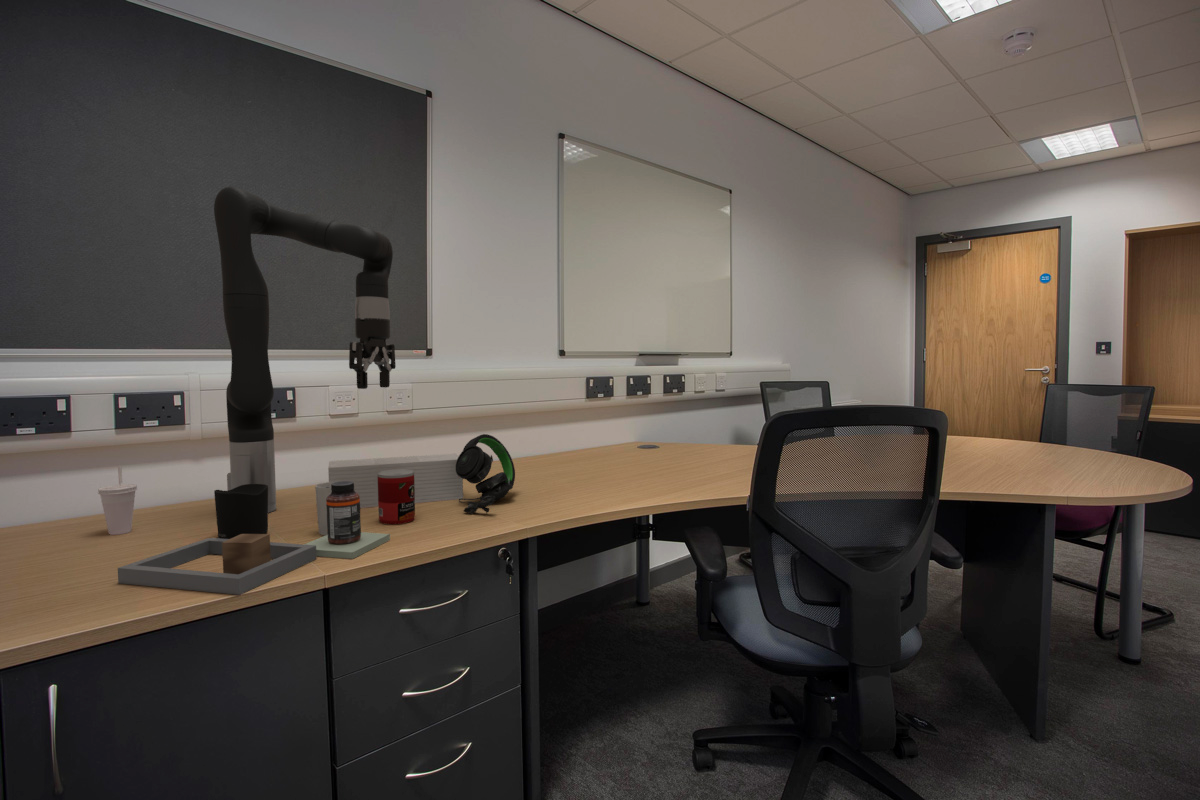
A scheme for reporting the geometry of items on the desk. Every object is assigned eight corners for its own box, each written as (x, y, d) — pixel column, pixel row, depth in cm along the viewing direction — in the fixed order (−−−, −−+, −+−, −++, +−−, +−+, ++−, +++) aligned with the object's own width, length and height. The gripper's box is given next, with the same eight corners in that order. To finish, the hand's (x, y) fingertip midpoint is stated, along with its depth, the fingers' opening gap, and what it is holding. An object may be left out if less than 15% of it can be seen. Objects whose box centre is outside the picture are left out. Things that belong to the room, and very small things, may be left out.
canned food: (404, 525, 130) (403, 475, 129) (371, 523, 131) (370, 474, 131) (421, 517, 137) (420, 469, 137) (390, 515, 139) (389, 468, 138)
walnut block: (223, 578, 98) (222, 542, 98) (242, 567, 103) (241, 533, 103) (253, 578, 98) (251, 542, 98) (271, 568, 103) (269, 534, 102)
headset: (473, 541, 145) (506, 473, 167) (512, 525, 139) (540, 457, 162) (429, 494, 139) (469, 430, 161) (468, 475, 134) (503, 412, 156)
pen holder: (221, 533, 124) (219, 486, 124) (272, 528, 128) (270, 482, 127) (211, 545, 116) (209, 495, 115) (266, 539, 119) (265, 490, 119)
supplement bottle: (334, 536, 117) (332, 479, 117) (365, 535, 118) (363, 479, 117) (322, 545, 111) (320, 486, 111) (355, 544, 112) (353, 485, 111)
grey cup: (315, 537, 121) (313, 488, 120) (317, 529, 127) (316, 482, 127) (350, 534, 123) (349, 486, 123) (351, 525, 130) (350, 480, 129)
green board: (295, 554, 110) (295, 548, 110) (337, 536, 122) (337, 530, 122) (352, 558, 107) (352, 552, 107) (389, 539, 119) (389, 534, 119)
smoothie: (145, 530, 127) (142, 465, 126) (110, 538, 121) (107, 470, 120) (128, 526, 129) (125, 463, 129) (93, 534, 124) (89, 467, 123)
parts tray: (118, 583, 96) (117, 567, 96) (209, 550, 112) (209, 537, 112) (239, 594, 91) (238, 578, 90) (316, 558, 107) (316, 545, 107)
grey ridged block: (456, 491, 166) (455, 453, 165) (463, 499, 156) (462, 458, 155) (330, 502, 153) (329, 461, 152) (329, 511, 143) (328, 467, 143)
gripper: (376, 320, 145) (377, 387, 146) (338, 315, 131) (339, 388, 132) (404, 320, 143) (405, 387, 144) (367, 315, 129) (369, 389, 130)
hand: (373, 388), depth 138 cm, fingers open, 8 cm apart
